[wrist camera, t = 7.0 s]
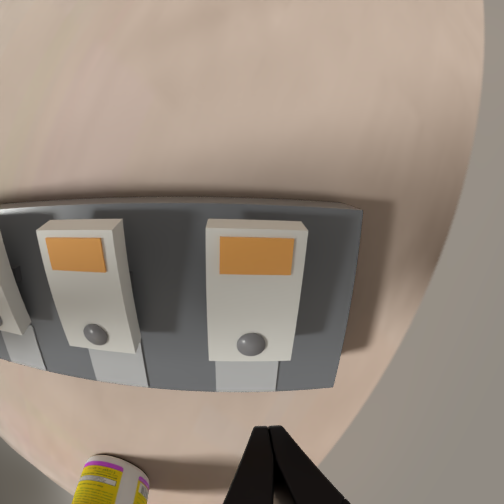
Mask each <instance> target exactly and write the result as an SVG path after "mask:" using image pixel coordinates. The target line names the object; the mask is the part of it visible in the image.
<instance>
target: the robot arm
mask: <svg viewBox="0 0 504 504" xmlns="http://www.w3.org/2000/svg"><path fill="white" fill-rule="evenodd" d="M223 504H350V503H349V501H348V500H346V499H344V496H343V495H342V494H341V493H340V492H339V491H338V490H337V489H336V488H335V487H334V486H333V485H332V483H331V482H330V481H329V480H328V479H327V478H326V477H325V476H324V475H323V474H322V472H321V471H320V470H319V469H318V468H317V467H316V466H315V464H314V463H313V462H312V461H311V460H310V459H309V457H308V456H307V455H306V454H305V453H304V452H303V450H302V449H301V448H300V447H299V446H298V445H297V443H296V442H295V441H294V440H293V439H292V437H291V436H290V435H289V434H288V432H287V431H286V430H285V429H284V428H283V427H282V426H280V425H277V426H269V427H267V426H255V427H254V428H253V431H252V433H251V436H250V439H249V441H248V444H247V446H246V449H245V451H244V454H243V456H242V459H241V461H240V464H239V466H238V469H237V471H236V474H235V476H234V479H233V481H232V483H231V486H230V488H229V491H228V493H227V495H226V498H225V500H224V502H223Z"/></svg>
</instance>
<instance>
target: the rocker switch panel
mask: <svg viewBox="0 0 504 504" xmlns="http://www.w3.org/2000/svg"><path fill="white" fill-rule="evenodd" d="M362 217H363V210H361V209H358V208H355V207H352V206H349V205H347V204H344V203H340V202H325V201H309V200H291V199H269V198H240V197H112V198H84V199H64V200H47V201H33V202H20V203H8V204H0V231H1V235H2V239H3V243H4V246H5V250H6V253H7V256H8V260H9V263H10V266H11V269H12V272H13V275H14V278H15V281H16V284H17V287H18V289H19V292H20V295H21V297H22V300H23V302H24V305H25V307H26V310H27V312H28V315H29V317H30V319H31V323H30V324H29V326H28V327H27V329H26V330H25V332H24V334H23V335H19V334H14V333H10V332H5V331H1V330H0V359H4V360H7V361H11V362H14V363H18V364H21V365H25V366H29V367H33V368H37V369H41V370H45V371H49V372H54V373H58V374H63V375H68V376H73V377H78V378H84V379H89V380H95V381H101V382H108V383H115V384H122V385H130V386H139V387H148V388H159V389H171V390H186V391H208V392H270V391H292V390H307V389H319V388H330V387H333V385H334V381H335V377H336V373H337V369H338V365H339V360H340V356H341V351H342V346H343V342H344V337H345V332H346V327H347V321H348V316H349V311H350V305H351V299H352V293H353V287H354V280H355V274H356V267H357V260H358V252H359V244H360V236H361V227H362ZM67 219H123V228H124V237H125V245H126V253H127V260H128V267H129V274H130V280H131V286H132V292H133V298H134V303H135V308H136V314H137V319H138V324H139V328H140V333H141V340H140V343H139V346H138V349H137V352H136V354H131V353H121V352H113V351H104V350H96V349H89V348H82V347H75V346H70V345H69V342H68V340H67V337H66V334H65V332H64V329H63V326H62V323H61V321H60V318H59V315H58V312H57V309H56V306H55V303H54V300H53V296H52V293H51V290H50V286H49V283H48V279H47V276H46V272H45V268H44V264H43V260H42V256H41V252H40V247H39V243H38V238H37V233H36V230H37V229H38V228H40V227H41V226H42V225H44V224H45V223H47V222H48V221H49V220H67ZM208 219H246V220H278V221H301V222H302V223H303V224H304V226H305V227H306V228H307V230H308V238H307V247H306V255H305V264H304V272H303V279H302V287H301V294H300V302H299V309H298V316H297V322H296V329H295V336H294V342H293V348H292V354H291V360H290V361H209V352H208V329H207V298H206V225H207V221H208Z"/></svg>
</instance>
